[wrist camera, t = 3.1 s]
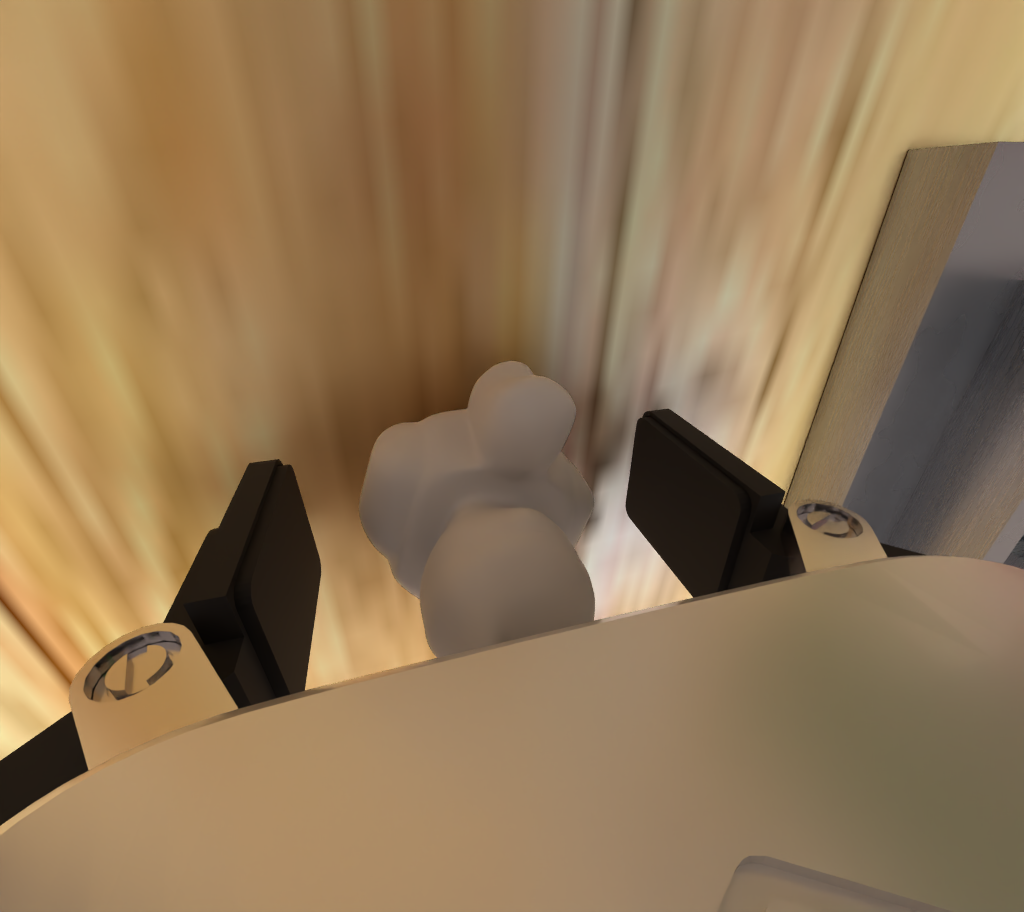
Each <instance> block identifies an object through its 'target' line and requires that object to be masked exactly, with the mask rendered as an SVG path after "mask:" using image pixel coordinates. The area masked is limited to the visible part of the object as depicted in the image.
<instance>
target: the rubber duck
mask: <svg viewBox="0 0 1024 912" xmlns="http://www.w3.org/2000/svg"><path fill="white" fill-rule="evenodd" d="M575 417H576V407H575V404H574V402H573V399H572V398H571V396H570V395H569V393H568V392H567V391H566V390H565V389H564V388H563V387H562V386H561V385H559V384H558V383H557V382H555V381H553V380H551V379H549V378H547V377H545V376H536V375H533V373H532V371H531V370H530V368H529V367H528V366H527V365H525V364H524V363H521V362H517V361H506V362H501V363H499V364H497V365H494V366H492V367H491V368H490V369H488V370H487V371H486V372H485V373H484V374H483V375H482V376H481V377H480V378H479V379H478V380H477V382H476V383H475V385H474V387H473V389H472V392H471V395H470V399H469V403H468V407H467V408H466V409H460V410H453V411H446V412H441V413H437V414H434V415H431V416H429V417H427V418H425V419H423V420H422V421H419V422H406V423H399V424H396V425H393V426H391V427H389V428H387V429H386V430H385V431H383V432H382V433H381V434H380V436H379V437H378V438H377V440H376V442H375V444H374V446H373V449H372V452H371V456H370V460H369V464H368V467H367V471H366V475H365V479H364V483H363V487H362V491H361V495H360V501H359V515H360V520H361V523H362V526H363V529H364V531H365V533H366V535H367V537H368V538H369V540H370V541H371V543H372V544H373V546H374V547H375V548H376V549H377V550H378V551H379V552H380V553H381V554H382V555H384V556H385V557H386V558H387V559H388V561H389V564H390V567H391V570H392V573H393V575H394V577H395V579H396V581H397V582H398V583H399V584H400V585H401V586H402V587H403V588H405V589H406V590H407V591H408V592H410V593H411V594H412V595H414V596H416V597H417V598H418V599H420V606H421V613H422V618H423V623H424V628H425V634H426V639H427V642H428V644H429V647H430V649H431V650H432V652H433V653H434V654H435V656H436V657H437V658H440V657H444V656H448V655H452V654H456V653H461V652H465V651H469V650H473V649H477V648H481V647H486V646H490V645H494V644H498V643H502V642H506V641H511V640H515V639H519V638H523V637H527V636H532V635H536V634H540V633H544V632H549V631H553V630H557V629H561V628H566V627H570V626H574V625H578V624H583V623H587V622H591V621H594V612H595V598H594V592H593V588H592V584H591V581H590V577H589V574H588V572H587V570H586V568H585V566H584V565H583V563H582V562H581V560H580V559H579V557H578V555H577V553H576V551H575V549H574V548H575V546H576V544H577V542H578V540H579V538H580V536H581V534H582V532H583V530H584V528H585V526H586V524H587V522H588V520H589V518H590V516H591V513H592V511H593V507H594V497H593V494H592V491H591V489H590V487H589V486H588V484H587V483H586V481H585V479H584V478H583V476H582V475H581V474H580V472H579V471H578V470H577V468H576V467H575V466H574V465H573V464H572V463H571V462H570V461H569V460H568V459H567V458H566V457H565V455H564V453H563V452H562V451H561V450H562V448H563V446H564V444H565V442H566V440H567V438H568V436H569V433H570V431H571V428H572V426H573V423H574V420H575Z"/></svg>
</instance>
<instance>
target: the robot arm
mask: <svg viewBox="0 0 1024 912" xmlns="http://www.w3.org/2000/svg"><path fill="white" fill-rule="evenodd" d="M784 494H785V491H784V490H782V489H781V488H780V487H778V486H777V485H775V484H774V483H772V482H771V481H770V480H768V479H767V478H765V477H764V476H763V475H761V474H760V473H758V472H757V471H756V470H754V469H753V468H751V467H750V466H749V465H747V464H746V463H744V462H743V461H742V460H740V459H739V458H737V457H736V456H735V455H733V454H732V453H730V452H729V451H728V450H726V449H725V448H723V447H722V446H720V445H719V444H718V443H716V442H715V441H713V440H712V439H711V438H709V437H708V436H706V435H705V434H704V433H702V432H701V431H699V430H698V429H697V428H695V427H694V426H692V425H691V424H690V423H688V422H687V421H685V420H684V419H683V418H681V417H680V416H678V415H677V414H676V413H674V412H673V411H671V410H669V409H663V410H655V411H647V412H645V413H644V415H643V417H642V418H640V419H638V421H637V425H636V432H635V439H634V447H633V454H632V461H631V469H630V476H629V483H628V490H627V498H626V511H627V514H628V516H629V518H630V519H631V520H632V522H633V523H634V524H635V525H636V527H637V528H638V529H639V530H640V532H641V533H642V534H643V535H644V537H645V538H646V539H647V540H648V542H649V543H650V544H651V545H652V546H653V548H654V549H655V550H656V551H657V553H658V554H659V555H660V556H661V558H662V559H663V560H664V561H665V563H666V564H667V565H668V566H669V568H670V569H671V570H672V571H673V573H674V574H675V575H676V576H677V578H678V579H679V580H680V581H681V583H682V584H683V585H684V586H685V588H686V589H687V590H688V591H689V593H690V594H691V595H692V596H693V598H690V599H686V600H682V601H677V602H673V603H668V604H664V605H660V606H656V607H651V608H647V609H643V610H638V611H634V612H630V613H625V614H621V615H617V616H613V617H608V618H604V619H600V620H595V621H591V622H587V623H583V624H578V625H574V626H570V627H566V628H561V629H557V630H553V631H549V632H544V633H540V634H536V635H532V636H527V637H523V638H519V639H515V640H511V641H506V642H502V643H498V644H494V645H490V646H486V647H481V648H477V649H473V650H469V651H465V652H461V653H456V654H452V655H448V656H444V657H440V658H436V659H432V660H427V661H423V662H419V663H415V664H411V665H407V666H402V667H398V668H394V669H390V670H386V671H382V672H377V673H373V674H369V675H365V676H361V677H357V678H353V679H349V680H345V681H341V682H337V683H333V684H329V685H325V686H321V687H317V688H313V689H309V690H305V684H306V677H307V670H308V663H309V656H310V649H311V642H312V635H313V628H314V620H315V613H316V606H317V599H318V592H319V585H320V578H321V563H320V558H319V554H318V551H317V548H316V544H315V541H314V537H313V534H312V531H311V527H310V524H309V521H308V517H307V514H306V510H305V507H304V504H303V500H302V497H301V494H300V490H299V487H298V483H297V480H296V477H295V473H294V470H293V468H292V466H291V465H283V464H282V462H281V461H280V460H279V459H278V460H270V461H263V462H255V463H250V464H249V465H248V467H247V469H246V471H245V473H244V475H243V477H242V479H241V481H240V484H239V486H238V488H237V490H236V492H235V494H234V496H233V498H232V500H231V503H230V505H229V507H228V509H227V511H226V513H225V515H224V517H223V520H222V522H221V524H220V526H219V528H216V529H213V530H211V531H210V532H209V533H208V534H207V536H206V538H205V540H204V542H203V544H202V546H201V548H200V550H199V552H198V554H197V556H196V558H195V560H194V562H193V564H192V566H191V568H190V570H189V572H188V574H187V576H186V578H185V580H184V582H183V584H182V586H181V588H180V590H179V592H178V594H177V596H176V598H175V600H174V602H173V604H172V606H171V608H170V610H169V612H168V614H167V616H166V618H165V620H164V622H163V623H159V624H154V625H150V626H146V627H142V628H139V629H137V630H135V631H132V632H130V633H128V634H125V635H123V636H121V637H120V638H118V639H116V640H115V641H113V642H111V643H110V644H108V645H107V646H105V647H104V648H102V649H101V650H100V651H99V652H98V653H96V654H95V655H94V656H93V657H92V658H90V659H89V660H88V661H87V662H86V664H85V665H84V666H83V667H82V668H81V669H80V671H79V672H78V673H77V674H76V676H75V678H74V680H73V682H72V684H71V686H70V688H69V703H70V706H71V710H72V711H71V712H70V713H68V714H67V715H65V716H64V717H63V718H61V719H60V720H58V721H57V722H55V723H54V724H52V725H51V726H50V727H48V728H47V729H45V730H44V731H42V732H41V733H40V734H38V735H37V736H35V737H34V738H32V739H31V740H30V741H28V742H27V743H25V744H24V745H22V746H21V747H19V748H18V749H17V750H15V751H14V752H12V753H11V754H9V755H8V756H7V757H5V758H4V759H2V760H1V761H0V912H1024V570H1023V569H1020V568H1017V567H1014V566H1010V565H1006V564H1002V563H997V562H992V561H986V560H980V559H974V558H965V557H955V556H944V555H925V554H921V553H917V552H913V551H909V550H906V549H902V548H898V547H894V546H891V545H887V544H883V543H880V542H879V541H878V539H877V537H876V535H875V533H874V531H873V530H872V528H871V526H870V525H869V524H868V523H867V521H866V520H865V519H863V518H862V517H861V516H859V515H858V514H857V513H855V512H853V511H851V510H849V509H847V508H845V507H843V506H840V505H837V504H834V503H831V502H827V501H822V500H813V499H805V500H798V501H796V502H793V503H792V504H791V505H790V506H789V507H788V509H787V508H786V507H784V506H783V505H782V504H781V503H782V500H783V497H784Z"/></svg>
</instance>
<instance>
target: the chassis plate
mask: <svg viewBox="0 0 1024 912" xmlns="http://www.w3.org/2000/svg"><path fill="white" fill-rule="evenodd" d="M805 499H813V500H822V501H827V502H831V503H834V504H837V505H840V506H843V507H845V508H847V509H849V510H851V511H853V512H855V513H857V514H858V515H859V516H861V517H862V518H863V519H865V520H866V521H867V523H868V524H869V525H870V526H871V528H872V530H873V531H874V533H875V535H876V537H877V539H878V541H879V542H880V543H883V544H887V545H891V546H894V547H898V548H902V549H906V550H909V551H913V552H917V553H921V554H925V555H944V556H955V557H965V558H974V559H980V560H986V561H992V562H997V563H1002V564H1006V565H1010V566H1014V567H1017V568H1020V569H1023V570H1024V142H991V143H981V144H970V145H959V146H948V147H937V148H926V149H915V150H909V151H908V154H907V157H906V159H905V162H904V165H903V168H902V171H901V174H900V177H899V179H898V182H897V185H896V188H895V191H894V194H893V197H892V199H891V202H890V205H889V208H888V211H887V214H886V216H885V219H884V222H883V225H882V228H881V231H880V234H879V236H878V239H877V242H876V245H875V248H874V251H873V253H872V256H871V259H870V262H869V265H868V268H867V271H866V273H865V276H864V279H863V282H862V285H861V288H860V291H859V293H858V296H857V299H856V302H855V305H854V308H853V310H852V313H851V316H850V319H849V322H848V325H847V328H846V330H845V333H844V336H843V339H842V342H841V345H840V348H839V350H838V353H837V356H836V359H835V362H834V365H833V367H832V370H831V373H830V376H829V379H828V382H827V385H826V387H825V390H824V393H823V396H822V399H821V402H820V405H819V407H818V410H817V413H816V416H815V419H814V422H813V424H812V427H811V430H810V433H809V436H808V439H807V442H806V444H805V447H804V450H803V453H802V456H801V459H800V461H799V464H798V467H797V470H796V473H795V476H794V479H793V481H792V484H791V487H790V490H789V493H788V496H787V499H786V501H785V504H784V507H786V508H787V509H788V507H789V506H790V505H791V504H792V503H793V502H796V501H798V500H805Z"/></svg>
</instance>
